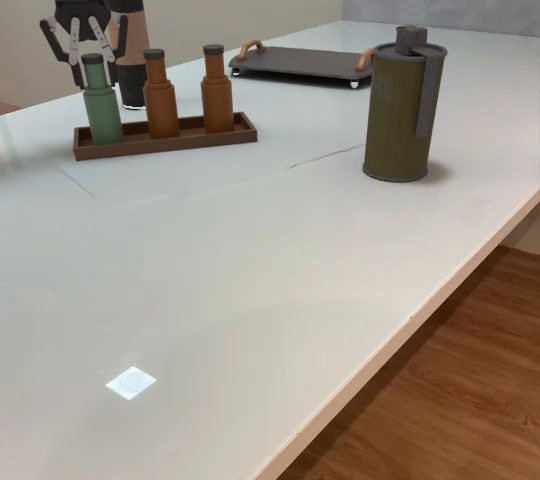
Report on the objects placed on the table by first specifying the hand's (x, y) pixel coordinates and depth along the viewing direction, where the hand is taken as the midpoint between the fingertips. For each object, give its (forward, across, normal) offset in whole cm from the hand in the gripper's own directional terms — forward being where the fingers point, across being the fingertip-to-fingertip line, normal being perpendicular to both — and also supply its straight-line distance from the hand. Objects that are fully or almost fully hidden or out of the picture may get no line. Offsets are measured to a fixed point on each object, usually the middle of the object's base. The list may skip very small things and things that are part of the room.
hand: (97, 86), depth 93 cm
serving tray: (+11, -50, -41) cm, 65 cm away
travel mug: (+11, -7, -26) cm, 29 cm away
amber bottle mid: (+10, -10, 0) cm, 14 cm away
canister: (+11, -44, +24) cm, 52 cm away
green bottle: (+10, 0, 0) cm, 10 cm away
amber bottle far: (+10, -20, 0) cm, 22 cm away
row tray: (+10, -10, 0) cm, 14 cm away
